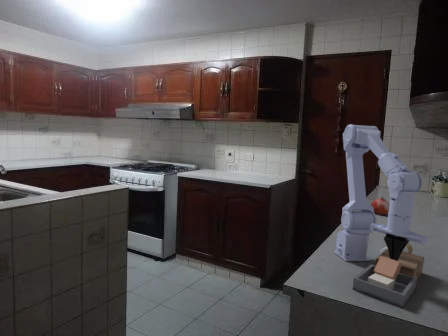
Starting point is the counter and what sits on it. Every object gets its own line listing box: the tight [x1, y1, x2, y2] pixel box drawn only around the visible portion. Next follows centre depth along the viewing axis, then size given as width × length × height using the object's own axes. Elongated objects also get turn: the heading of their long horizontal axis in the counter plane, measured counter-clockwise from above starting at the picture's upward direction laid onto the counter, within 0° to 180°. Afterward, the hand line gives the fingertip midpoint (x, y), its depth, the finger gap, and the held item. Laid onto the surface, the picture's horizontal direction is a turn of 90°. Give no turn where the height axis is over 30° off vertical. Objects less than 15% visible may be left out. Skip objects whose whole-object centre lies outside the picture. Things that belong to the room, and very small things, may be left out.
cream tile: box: [367, 273, 395, 290], centre depth 88 cm, size 5×5×2 cm
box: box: [352, 264, 418, 308], centre depth 88 cm, size 14×12×3 cm
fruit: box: [370, 195, 390, 216], centre depth 177 cm, size 9×10×10 cm
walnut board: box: [374, 249, 425, 280], centre depth 99 cm, size 14×10×5 cm
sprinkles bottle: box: [379, 242, 414, 255], centre depth 112 cm, size 5×5×13 cm
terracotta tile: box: [374, 256, 401, 280], centre depth 91 cm, size 5×5×2 cm
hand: (393, 262), depth 93 cm, fingers closed, pressing on terracotta tile
